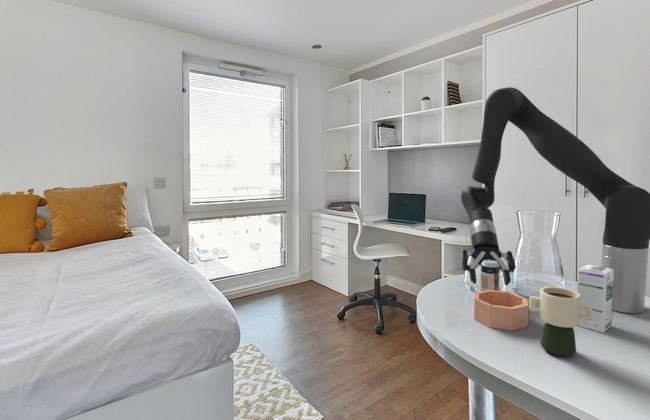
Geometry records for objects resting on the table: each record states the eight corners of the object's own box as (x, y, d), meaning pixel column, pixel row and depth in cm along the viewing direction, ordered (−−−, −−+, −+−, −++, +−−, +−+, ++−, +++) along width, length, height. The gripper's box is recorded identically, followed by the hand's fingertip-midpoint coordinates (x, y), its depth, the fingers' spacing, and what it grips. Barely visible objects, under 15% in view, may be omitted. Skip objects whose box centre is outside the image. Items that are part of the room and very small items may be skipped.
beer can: (500, 304, 97) (501, 264, 95) (482, 303, 98) (483, 263, 96) (495, 298, 101) (496, 259, 100) (478, 297, 102) (479, 259, 101)
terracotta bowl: (498, 306, 96) (498, 287, 95) (537, 324, 84) (538, 302, 84) (464, 314, 91) (464, 294, 91) (501, 333, 80) (502, 311, 80)
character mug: (587, 349, 72) (591, 291, 71) (591, 366, 66) (595, 302, 65) (528, 337, 78) (530, 283, 77) (527, 351, 72) (529, 293, 71)
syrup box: (604, 333, 79) (608, 273, 77) (574, 324, 83) (577, 267, 82) (611, 326, 82) (615, 268, 80) (582, 318, 87) (585, 263, 85)
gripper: (460, 229, 106) (465, 276, 97) (510, 230, 103) (521, 278, 93) (458, 242, 112) (463, 287, 102) (505, 243, 108) (515, 290, 99)
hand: (490, 283), depth 98 cm, fingers open, 8 cm apart
